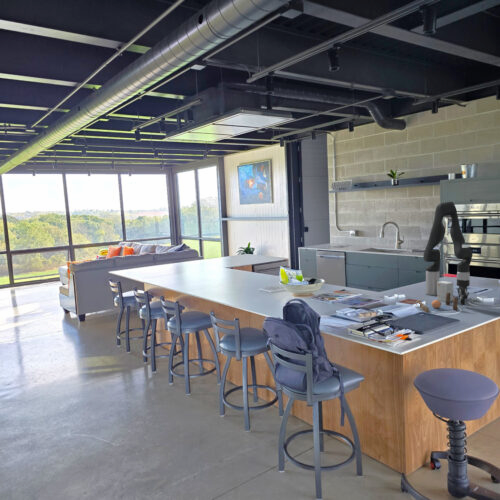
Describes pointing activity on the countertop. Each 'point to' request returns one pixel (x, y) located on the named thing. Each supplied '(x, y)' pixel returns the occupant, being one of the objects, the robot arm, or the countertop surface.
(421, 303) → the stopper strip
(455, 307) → the post
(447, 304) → the post
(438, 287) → the small box
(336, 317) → the countertop surface
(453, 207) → the robot arm
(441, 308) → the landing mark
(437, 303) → the ball
